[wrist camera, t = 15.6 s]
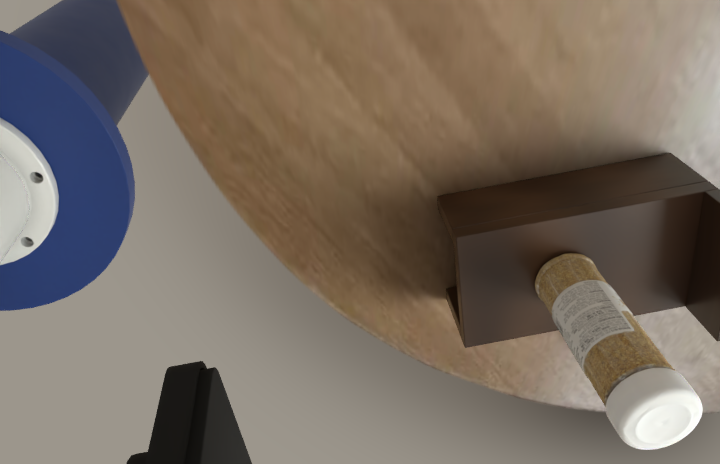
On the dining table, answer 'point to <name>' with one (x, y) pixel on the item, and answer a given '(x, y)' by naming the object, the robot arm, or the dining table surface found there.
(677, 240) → the shelf
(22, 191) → the robot arm
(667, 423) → the sprinkles bottle
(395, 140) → the dining table surface
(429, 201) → the dining table surface
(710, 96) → the dining table surface
